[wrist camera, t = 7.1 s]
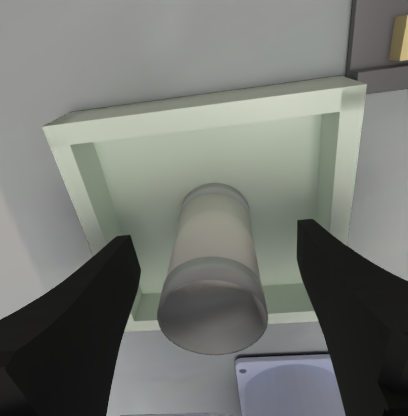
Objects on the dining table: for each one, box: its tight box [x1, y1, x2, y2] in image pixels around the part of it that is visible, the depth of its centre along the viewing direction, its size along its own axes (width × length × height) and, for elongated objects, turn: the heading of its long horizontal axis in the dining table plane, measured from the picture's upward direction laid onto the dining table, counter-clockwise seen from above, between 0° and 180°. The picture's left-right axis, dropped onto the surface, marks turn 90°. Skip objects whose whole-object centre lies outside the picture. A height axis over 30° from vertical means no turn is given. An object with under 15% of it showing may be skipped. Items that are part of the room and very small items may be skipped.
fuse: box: [157, 183, 268, 355], centre depth 12 cm, size 4×4×6 cm
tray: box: [42, 76, 367, 332], centre depth 15 cm, size 12×12×2 cm
